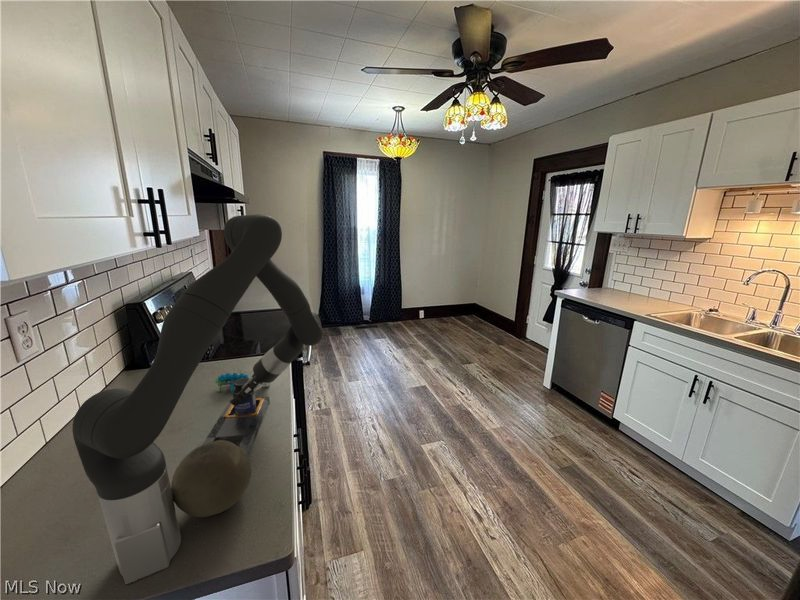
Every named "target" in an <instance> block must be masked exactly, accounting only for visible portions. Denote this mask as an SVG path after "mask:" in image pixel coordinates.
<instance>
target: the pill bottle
mask: <svg viewBox="0 0 800 600" xmlns="http://www.w3.org/2000/svg"><path fill="white" fill-rule="evenodd" d="M249 378H250V377H249ZM249 378H241V379H238V380H236V381H235V382H234V390H233V392H232V399H233V398H234V397H235V396H236V395H237V393H238V392H240V391H241V390H242V387H243V386H244V385H245V384H246V383H247V382H248V380H249ZM247 385H248V384H247ZM247 385H246V386H247ZM255 393H256V390H255V391H254V392H253V393H252V394H251V395H249V396H248V397H246V398H245V399H244V401H242V402H240V403H239V404H238V405H237V406H234V408H235V413H234V415H242V414H255V411H256V409H257V407H256V400H255V398H256V394H255Z"/></svg>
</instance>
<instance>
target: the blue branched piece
mask: <svg viewBox="0 0 800 600" xmlns="http://www.w3.org/2000/svg"><path fill="white" fill-rule="evenodd" d="M241 378H250V377H249V375H248V374H245V373H243V372H242V373H239V374H238V372H232V373H230V372H228V373H227V372H226V373H225V374H220V376H217V378H215V384H217V386H218V393H220V392H221V393H222V386H226V385H227V386H228V385H231V386H230V393H233V390H234V389H235V387H234V382H235V381H236V380H238V379H241Z"/></svg>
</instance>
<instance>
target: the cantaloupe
mask: <svg viewBox="0 0 800 600" xmlns="http://www.w3.org/2000/svg"><path fill="white" fill-rule="evenodd" d="M202 444H203V443H202ZM202 444H201V445H199V446H197V447H196V448H194V449H193V450H191V451H190V452H189V453H188V454H187V455H186V456H185V457H184V458H183V459H182V460H181V461H180V463H179V464H178V466H177V468H176V469H175V471H174V473H173V476H172V478H171V483H170V486H171V491H172V496H173V501H174V505H175V506H177V508H179V510H180V511H182V512H184V513H185V514H186V515H187V516H191V517H194V518H205V517H206V518H207V517H211V516H215V515H218V514H220V513H222V512H224V511H227V510H228V509H229V508H231V507H232V506H233V505H235V504H236V503H237V502H238V501H239V500H240V498H242V496H243V495H244V493H245V492H246V491H247V488H248V486H249V484H250V481H251V478H252V465H251V462H250V458H249V455H248V456H247V454H246V452H245V451H244V450H243V449H242V448H240V447H239V446H238V445H236V443H234V444H233V443H232V442H229V441H224V440H218V441H214V442H210V443H206V444H203V445H202Z"/></svg>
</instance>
